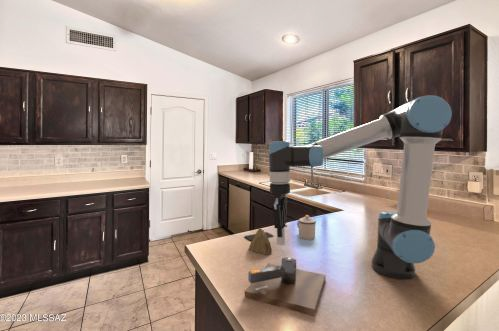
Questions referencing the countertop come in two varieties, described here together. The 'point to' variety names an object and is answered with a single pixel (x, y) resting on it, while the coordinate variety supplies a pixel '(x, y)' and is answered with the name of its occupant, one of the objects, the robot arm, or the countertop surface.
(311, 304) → the base board
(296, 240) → the countertop surface
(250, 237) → the phone
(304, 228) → the cream lidded jar
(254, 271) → the grey mallet
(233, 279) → the countertop surface
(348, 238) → the countertop surface
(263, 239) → the rock
